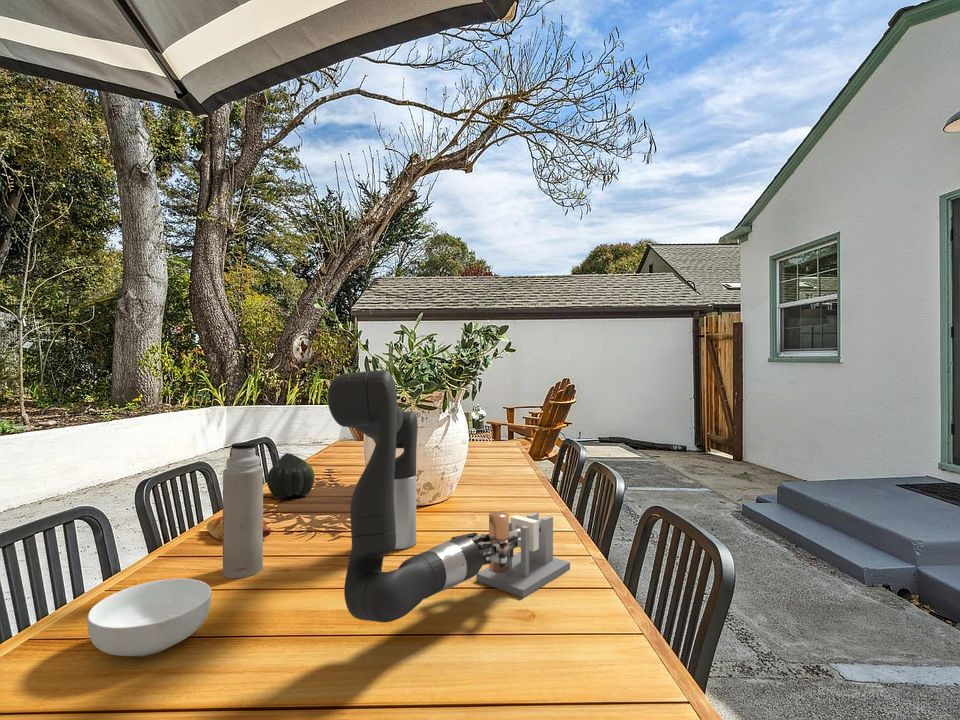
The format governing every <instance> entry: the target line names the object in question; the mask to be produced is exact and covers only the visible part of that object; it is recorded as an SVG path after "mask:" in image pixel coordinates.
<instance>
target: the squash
mask: <svg viewBox="0 0 960 720" xmlns="http://www.w3.org/2000/svg"><path fill="white" fill-rule="evenodd" d="M266 483H267V487H268V490H269V492H270V493H271V494H272V495H273V496H274V497H277V498H279V499H287V498H289V497H293V496H297V497H304V496H307V495H308V494H309V493H310V492H311V491H312V488H313V487H314V483H315V472H314V470H313V467H312V466H311V465H310V464H309V463H308V462H307V461H306V460H304V459H302V458H300V457H298V456H296V455H295V454H292V453H288V452H286V453H285V454H283V455H282V456H281V457H280V458H279V459H278V460H277V461H276V463H274V465H273V466H272V467H271V468H270V470H269V471H268V474H267V477H266Z"/></svg>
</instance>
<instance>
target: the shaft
mask: <svg viewBox="0 0 960 720" xmlns="http://www.w3.org/2000/svg"><path fill="white" fill-rule="evenodd" d="M488 517H489V518H488V534H489V541H493V540H496V541H498V542H499V541H503V540H505V539H507V538H510V537H512V536H517V537H518V539H519V538H521V527H519V528H517V529H515V530H512V531H510V532H509V522H510V514H509V513H507V512H504V511H492V512H490V513H488ZM544 517H545V516H544ZM544 517H539V519H538V521H539V529H541V519H542V518H544ZM492 547H493V546H492ZM500 550H502V546H500ZM488 567H489V570H490V571H491V572H493V573H505V572H507V571H508V570H509V563H508V564H507V565H506V566H505V567H499V562H492V563H490V564H488Z"/></svg>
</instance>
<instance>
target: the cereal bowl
mask: <svg viewBox="0 0 960 720" xmlns="http://www.w3.org/2000/svg"><path fill="white" fill-rule="evenodd" d="M211 605H212V588H211V586H210V585H209V584H207V583H206V582H204V581H201V580H197V579H193V578H168V579H160V580H153V581H149V582H144V583H139V584H136V585H133V586H130V587H128V588H124V589H122V590H119V591H116V592H113V594H112V593H111V594H110V595H109V596H106V597H105V598H103V599H101V600H100V601H98V602H97V603H96V604H95V605H93V606H92V608H91V609H90V610H89V612H88V613H87V617H86V618H87V619H86V623H87V624H86V625H87V632H88V633H87V634H88V636H89V640H90V641H91V643H92V644H93V646H95V647H96V648H97V649H98V650H99V651H101V652H103V653H105V654H109V655H113V656H118V657H119V656H122V657H145V656H151V655H154V654H158V653H160V652H163V651H165V650H167V649H169V648H170V647H173V646H174V645H176V644H178V643H180V642H182V641H184V640H185V639H187V638H188V637H190V636H191V635H193V634H194V633H195V632H196V631H197V630H198V629H199V628H200V627H201V626H202V625H203V623H204V622H205V620H206V618H208V614H209V612H210V609H211Z"/></svg>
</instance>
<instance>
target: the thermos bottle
mask: <svg viewBox="0 0 960 720" xmlns="http://www.w3.org/2000/svg"><path fill="white" fill-rule="evenodd" d="M256 447H257V443H256V442H254V441H253V442H252V441H245V442H243V441H242V442H236V443H232V444H231V451H230V457H229V458H228V459H226V463H225V465H226V468H225V469H223V471H222V516H223V540H222V575H223V577H225V578H227V579H242V577H244V578H247V577H251V575H252V576H255V575H257V574H258V573H260V572H262V570H263V568H264V538H263V524H264V467H263V466H262V465H261V464H262V463H261V459H260V458H261V457H260V456H259V455H256V454H257V453H256Z"/></svg>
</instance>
